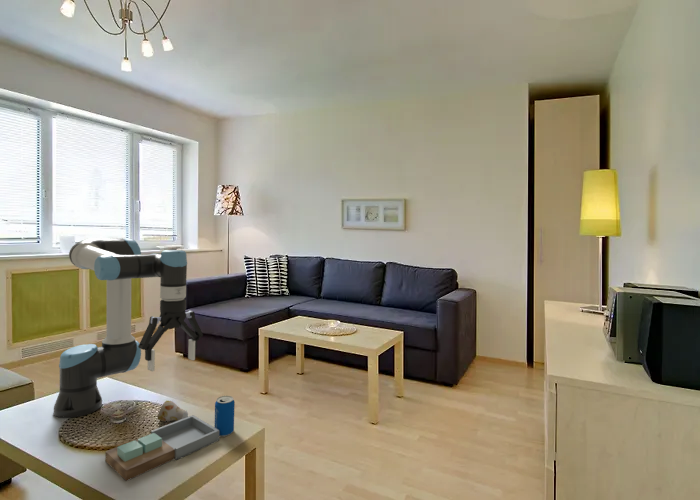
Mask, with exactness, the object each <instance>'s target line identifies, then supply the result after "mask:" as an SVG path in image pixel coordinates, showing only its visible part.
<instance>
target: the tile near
mask: <svg viewBox="0 0 700 500" xmlns="http://www.w3.org/2000/svg"><path fill="white" fill-rule="evenodd" d="M136 440H137V439H134V440H132V441H129V442H127V443H124V444H121V445H118V446H116V447H117V455H118V456H119V457H120V458H121V459H122V460H124V461H128V460H130V459H133V458H135V457H137V456H140V455H142V454H143V446H142V445H141V444H139V443H138V442H137V441H136Z"/></svg>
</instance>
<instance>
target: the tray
mask: <svg viewBox="0 0 700 500" xmlns="http://www.w3.org/2000/svg"><path fill="white" fill-rule="evenodd" d="M152 433H155V434H156V435H158V436H159V437H161V438H162V441H164V442H165V443H166V444H168V445H169V446H171V447H172V448H173V449H175V459H174V460H176V461H177V460H180V459H182V458H184V457H186V456H189V455H191V454H193V453H195V452H198V451H199V450H201V449H204V448H206V447H208V446H210V445H213V444H215V443H217V442H219V441H220V436H219V430H218V429H216V428H215V427H214V426H213V425H211V424H209V423H207V421H204V420H203V419H201V418H199V417H197V416H195V415H193V414H192V415H190V416H189V415H188V417H186V418H184V419H181V420H179V421H172V422H170V423H168V424H166V425H163V426H161V427H158V428H155V429H151V431H150V434H152Z"/></svg>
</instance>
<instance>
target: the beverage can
mask: <svg viewBox="0 0 700 500" xmlns="http://www.w3.org/2000/svg"><path fill="white" fill-rule="evenodd" d="M235 405H236V404H235V399H234V397H233V396H231V395H222V396H218V397H217V398H216V401H215V403H214V426H213V427H215V428H216V429H218V430H219V437H228V436H230V435H231V434H232V433H233V432H234V431H235Z"/></svg>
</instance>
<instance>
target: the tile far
mask: <svg viewBox="0 0 700 500" xmlns="http://www.w3.org/2000/svg"><path fill="white" fill-rule="evenodd" d="M137 439H138V443H139V444H141V445H142V446H143V452H145V453H147V452H149V451H152V450H154V449H157V448H159V447H161V446H162V438H161V437H159V436H158V435H156V434H155V433H152V434H151V433H150V434H148V435H144V436H142V437H140V438H137Z"/></svg>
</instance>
